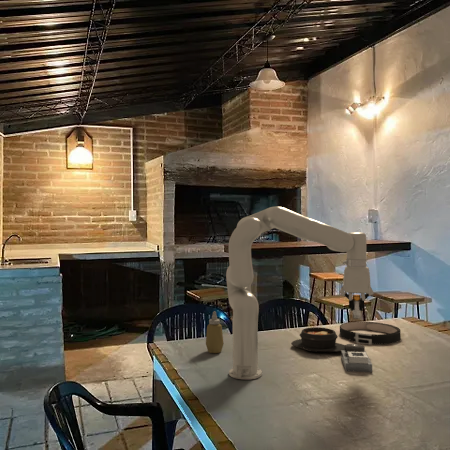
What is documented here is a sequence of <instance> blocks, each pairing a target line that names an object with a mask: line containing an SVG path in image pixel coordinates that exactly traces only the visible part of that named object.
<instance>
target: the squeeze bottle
mask: <svg viewBox="0 0 450 450" xmlns="http://www.w3.org/2000/svg"><path fill="white" fill-rule="evenodd" d="M208 323H209V324H207V327H206V336H205V346H206V348H207V352H208V353H209V354H219V353H222V351H223V348H224V336H223V333H224V332H223V325H222V324H221V323H220V319H219V318H218V316H217V312H216V311H213V312H212V315H211V318H210V319H209V321H208Z"/></svg>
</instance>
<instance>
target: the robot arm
mask: <svg viewBox="0 0 450 450" xmlns="http://www.w3.org/2000/svg"><path fill="white" fill-rule="evenodd" d="M272 229H277V230H279V231H282V232H284V233H287V234H289V235H292V236H294V237H297V238H299V239H302V240H305V241H309V242H312V243H313V242H314V243H317V244H320V245H324V246H326V247H327V248H328V249H329V250H330V251H333V252H338V253H339V252H340V253H346V259H345V260H342V265H346V266H344V271H343V277H342V278H343V281H342V287H340V289H339V294H340V295H341V296H344V297H346V299H348V308H349V309H350V311H351V312H353V294H360V295H361V301H360V303H361V312H363V311H364V309H365V301H366V299H368V298H369V297H371V296H373V295H374V294H375V292H374V289H373V288H372V285H371V275H370V274H371V273H370V268H369V267H367V235H366V233H365V232H361V231H360V232H347V231H344V230H341V229H339V228H336V227H334V226H332V225H328V224H326V223H324V222H321V221H318V220H315V219H313V218H310V217H308V216H305V215H302V214H300V213H297V212H295V211H293V210H290V209H288V208H286V207H284V206H283V207H282V206H271V207H268V208H265V209H263V210H260V211H258V212H255V213H253V214H251V215H248V216H244V217H243V218H241V219H240V220H238V222H237V225H236V228H234V230H233V231H232V233H231V235H230V237H229V241H228V260H229V261H228V263H229V266H228V267H227V269H226V274H225V276H226V287H227V288H226V289H227V297H228V302H229V305H230V308H231V309H232V311H233V312H232V368H231V369H229V370H228V375H229V376H230V377H231V378H233V379H235V380H243V381H245V380H246V381H248V380H255V379H259V378H260V377H262V375H263V371H262V369H260V368H259V361H258V360H259V347H258V346H259V345H258V344H259V343H258V341H259V340H258V339H259V337H258V335H259V334H258V327H259V326H258V324H259V323H258V322H259V311H260V310H259V309H260V308H259V307H260V306H259V302H258V299H257V297H256V296H255V295H254V294H253V293H252V286H251V285H252V284H253V281H254V277H255V275H254V269H253V260H252V245H253V243H254V242H255V240H256V239H257V238H259V237H260V236H261V235H262V234H263V233H265V232H267V231H270V230H272Z"/></svg>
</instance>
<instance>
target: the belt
mask: <svg viewBox="0 0 450 450" xmlns="http://www.w3.org/2000/svg"><path fill="white" fill-rule="evenodd" d="M354 330H369V331H373V332H379V334H371V333H363V332H362V333H361V332H356V331H355V332H354ZM380 333H381V334H380ZM382 333H383V334H382ZM339 336H340V337H341V338H343V339H346V340H348V341H350V342H354V343H355V344H361V345H363V344H364V345H389V344H390V345H391V344H395V343H398V342H400V341H401V329H400V328H399V327H398V326H395V325H392V324H388V323H382V322H376V321H375V322H374V321H347V322H343V323H341V324H339Z"/></svg>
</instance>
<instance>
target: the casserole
mask: <svg viewBox="0 0 450 450" xmlns="http://www.w3.org/2000/svg"><path fill="white" fill-rule="evenodd" d="M299 337H300V338H299V339H296V340H293V341H292V342H291V343H290V344H291V346H293V347H297V348H300V349H303V350H305V351H309V352H312V353H318V354H319V353H329V352H331V353H339V352H340V353H341V350H345V345H346V344H343V343H338V342H337V339H338V337H339V336H338V335H337V332H336V331H335V330H334V329H330V328H327V327H316V326H313V327H306V328H302V329H301V333H300V334H299Z"/></svg>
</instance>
